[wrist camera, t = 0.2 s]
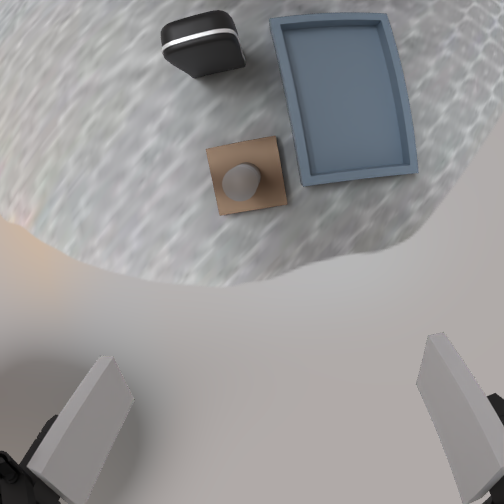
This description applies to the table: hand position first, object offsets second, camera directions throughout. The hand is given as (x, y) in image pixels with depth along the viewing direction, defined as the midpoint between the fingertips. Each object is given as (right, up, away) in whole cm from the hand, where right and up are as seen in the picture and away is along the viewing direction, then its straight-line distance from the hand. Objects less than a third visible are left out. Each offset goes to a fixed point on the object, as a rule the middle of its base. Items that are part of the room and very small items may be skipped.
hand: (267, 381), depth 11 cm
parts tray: (+10, +24, +20) cm, 32 cm away
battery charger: (-5, +28, +20) cm, 35 cm away
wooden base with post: (-1, +14, +24) cm, 28 cm away
